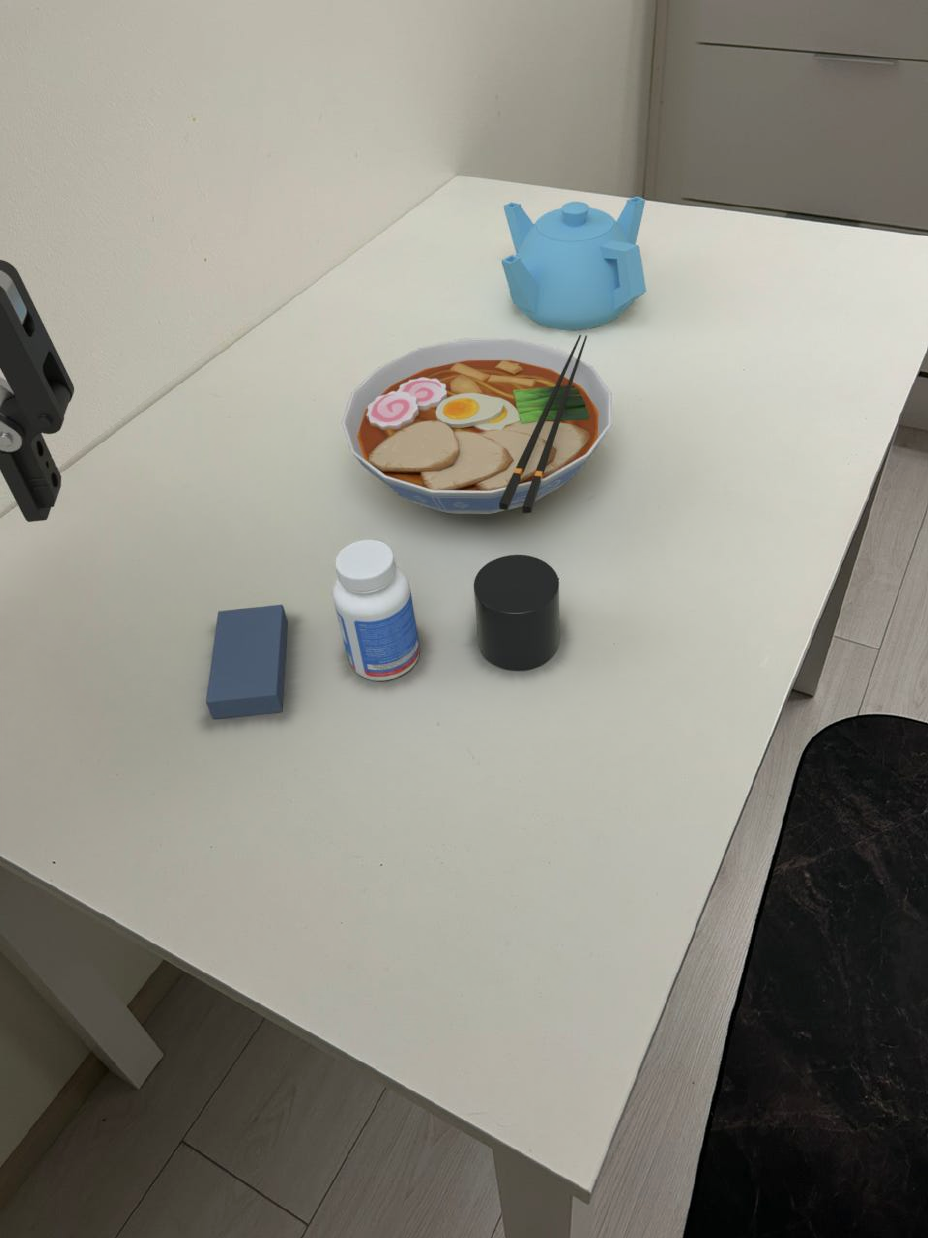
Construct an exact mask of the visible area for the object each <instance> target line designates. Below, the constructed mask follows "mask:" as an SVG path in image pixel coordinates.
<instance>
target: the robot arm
mask: <svg viewBox="0 0 928 1238" xmlns="http://www.w3.org/2000/svg"><path fill="white" fill-rule="evenodd" d="M0 371H1V372H2V374H3V377H4V378H3V377H1V376H0V473H1V475H2V477H3V479H4V481H5V483H6V484H7V487H8V488H9V490H10V492H11V495H12V496H13V499H14V500H15V502H16V504H17V506H18V508H19V510H20V512H21V514H22V515H23V518H24V519H25V521H26V522H28V523H33V522H42V521H43V522H44V521H47V520H48V518H49V516H50V514H51V513H50V512H51V510H52V508H54V507H55V505H56V502H57V499H58V497H59V494H60V491H61V487H62V475H61V472H60V470H59V468H58V466H57V464H56V462H55V460H54V458H53V455H52V453H51V451H50V449H49V446H48V444H47V442H46V440H45V438H44V436H43V434H44V435H53V434H56V433H58V432H59V431H60V430H61V429H62V426H63V424H64V421H65V415H66V412H67V409H68V406H69V404H70V402H71V401H72V399H73V396H74V393H75V386H74V384H73V381H72V379H71V377H70V376H69V373H68V371H67V369H66V367H65V365H64V363H63V361H62V358H61V357H60V355H59V353H58V351H57V349H56V347H55V345H54V343H53V341H52V338H51V335H50V334H49V333H48V330H47V328H46V327H45V324H44V322H43V320H42V318H41V316H40V314H39V312H38V309H37V307H36V305H35V304H34V301H33V299H32V298H31V295H30V293H29V291H28V289H27V287H26V285H25V283H24V281H23V278H22V276H21V275H20V273H19V270H18V269H17V268H16V267H15V266H14V265H13V264H12V263H10V262H9V261H6V260H3V259H0Z"/></svg>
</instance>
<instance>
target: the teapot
mask: <svg viewBox="0 0 928 1238" xmlns="http://www.w3.org/2000/svg"><path fill="white" fill-rule="evenodd" d="M645 204H646V199H645V198H642V197H640V196H634V197H632V198H629V199H626V203H625V205H624V207H623V209H622V210H621V212H620V214H619V216H618V218H617V220H615V218H614V217H613V216H612V215H610V213H608V212H606V211H604V210H602V209H599V208H596V207H590V206H589V204H587V203H585V202H583V201H582V202H581V201H570V202H567V203H564V204H563V205H562V206H561V208H556V209H553V210H551V211H550V210H549V211H548V212H546V213H544V214H542V215H541V216H540V217H538V218H537V219H536V221H535V222H534V223H533V221H532V220H531V218H530V217H529V215H528V213H526V211H525V210H524V208H523V207H522V204H520V203H516V202H513V201H512V202H509V203H507V204H505V205H503V210H504V215H505V217H506V218H505V219H506V221H507V225H508V229H509V233H510V235H511V240H512V244H513V246H514V250H515V254H516V255H515V254H510V255H509V256H506V257H504V258H503V259H501V265H502V268H503V272H504V275H505V279H506V282H507V285H508V289H509V294H510V297H511V300H512V303H513V304H514V305H515V306H516V307H517V308H518V309H519V310H520V311H521V313H523V314H524V315H525V316H526V317H527V318H529V320H531V321H532V322H534V323H536V324H538V325H540V326H543V327H546V328H549V329H554V330H560V331H561V330H563V331H581V330H589V329H594V328H598V327H601V326H604V325H607V324H608V323H609V324H610V322H613V321H615V320H616V319H617V318H619V317H620V316H621V315H622V314H624V312H625V311H626V310H627V309H628V308H629V307H630V306H631V305H632V304H633V303H634V302H635V300H637V299H638V298H640V297H641V296H642V295H644V294H645V293H647V288H646V281H645V275H644V268H643V263H642V256H641V249H640V245H639V244H636V243H637V240H638V235H639V230H640V226H641V222H642V218H643V213H644V208H645Z"/></svg>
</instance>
